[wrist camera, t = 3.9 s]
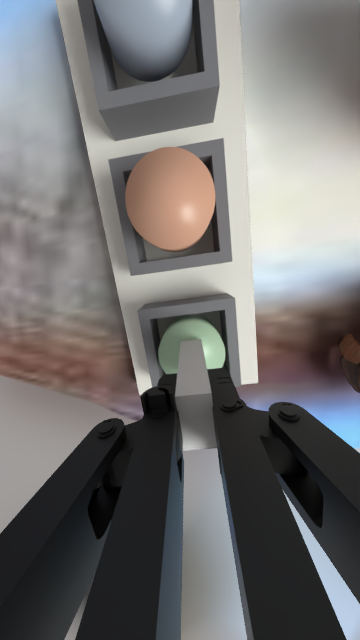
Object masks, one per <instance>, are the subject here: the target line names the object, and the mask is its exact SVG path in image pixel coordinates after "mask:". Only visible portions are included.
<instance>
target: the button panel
mask: <svg viewBox="0 0 360 640" xmlns="http://www.w3.org/2000/svg"><path fill="white" fill-rule="evenodd" d="M56 4H57V9H58V14H59V19H60V23H61V28H62V33H63V37H64V42H65V47H66V51H67V56H68V61H69V66H70V70H71V75H72V80H73V84H74V89H75V94H76V98H77V103H78V108H79V113H80V117H81V122H82V127H83V131H84V136H85V141H86V146H87V150H88V155H89V160H90V164H91V169H92V174H93V178H94V183H95V188H96V193H97V197H98V202H99V207H100V211H101V216H102V221H103V225H104V230H105V235H106V240H107V244H108V249H109V254H110V258H111V263H112V268H113V273H114V277H115V282H116V287H117V291H118V296H119V301H120V305H121V310H122V315H123V320H124V324H125V329H126V334H127V338H128V343H129V348H130V352H131V357H132V362H133V367H134V371H135V376H136V381H137V385H138V390H139V395H142V394H143V392H145V391H146V390H148V389H150V388H152V387H156V386H157V384H158V381H159V379H160V378H161V377H162V376H163V375H165V374H166V373H165V372H164V370H163V369H162V367H161V365H160V362H159V356H158V351H159V346H160V343H161V340H162V337H163V335H164V332H165V330H166V328H167V326H168V325H169V323H170V322H171V321H173V320H174V319H175V318H177V317H179V316H181V315H187V314H197V315H201V316H203V317H205V318H207V319H209V320H210V321H211V322H212V323H213V324H214V326H215V327H216V329H217V331H218V333H219V335H220V337H221V339H222V341H223V344H224V347H225V361H224V364H223V366H222V368H225V369H226V370H227V371H229V373H230V376H231V378H232V381H233V383H234V386H235V387H239V386H241V384H251V383H258V368H257V348H256V328H255V307H254V287H253V267H252V247H251V226H250V206H249V186H248V166H247V145H246V125H245V105H244V85H243V64H242V44H241V24H240V4H239V0H192V33H191V39H190V43H189V47H188V50H187V53H186V55H185V57H184V59H183V60H182V62H181V64H180V65H179V66H178V67H177V69H176V70H175V71H174V72H173V73H171V74H170V75H169V76H167V77H166V78H163V79H161V80H158V81H153V82H145V81H140V80H137V79H135V78H133V77H131V76H130V75H128V74H127V73H126V72H125V71H124V70H123V69H122V68H121V67H120V66H119V64H118V63H117V61H116V60H115V58H114V56H113V54H112V52H111V49H110V46H109V43H108V41H107V38H106V35H105V32H104V29H103V26H102V23H101V21H100V18H99V15H98V12H97V9H96V6H95V3H94V0H56ZM163 147H178V148H182V149H185V150H187V151H189V152H191V153H193V154H194V155H196V156H197V157H198V158H199V159H200V160H201V161H202V162H203V163H204V164H205V166H206V167H207V169H208V171H209V172H210V174H211V177H212V179H213V183H214V187H215V207H214V212H213V215H212V218H211V220H210V223H209V225H208V227H207V229H206V231H205V233H204V235H203V236H202V238H201V239H200V240H199V242H197V243H196V244H195V245H194V246H193V247H191V248H189V249H187V250H185V251H181V252H166V251H163V250H160V249H158V248H157V247H155V246H154V245H152V244H151V243H150V242H148V241H147V240H145V239H144V238H143V237H142V236H141V235H140V234H139V233H138V232H137V231H136V229H135V228H134V226H133V225H132V223H131V221H130V219H129V216H128V213H127V209H126V203H125V192H126V186H127V181H128V179H129V176H130V174H131V172H132V170H133V168H134V167H135V165H136V164H137V163H138V162H139V160H140V159H141V158H143V157H144V156H145V155H146V154H148V153H150V152H151V151H153V150H156V149H159V148H163Z"/></svg>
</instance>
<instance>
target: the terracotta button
mask: <svg viewBox="0 0 360 640" xmlns="http://www.w3.org/2000/svg"><path fill="white" fill-rule="evenodd" d="M125 203H126V209H127V213H128V216H129V219H130V221H131V223H132V225H133V226H134V228H135V229H136V231H137V232H138V233H139V234H140V235H141V236H142V237H143V238H144V239H145V240H147V241H148V242H150V243H151V244H152V245H154V246H155V247H157V248H158V249H160V250H163V251H166V252H181V251H185V250H187V249H189V248H191V247H193V246H194V245H195V244H196V243H197V242H199V240H200V239H201V238H202V236H203V235H204V233H205V231H206V229H207V227H208V225H209V223H210V220H211V218H212V215H213V212H214V207H215V187H214V183H213V179H212V177H211V174H210V172H209V171H208V169H207V167H206V166H205V164H204V163H203V162H202V161H201V160H200V159H199V158H198V157H197V156H196V155H194V154H193V153H191V152H189V151H187V150H185V149H182V148H178V147H163V148H159V149H156V150H153V151H151V152H150V153H148V154H146V155H145V156H144V157H143V158H141V159H140V160H139V162H138V163H137V164H136V165H135V167H134V168H133V170H132V172H131V174H130V176H129V179H128V181H127V186H126V192H125Z"/></svg>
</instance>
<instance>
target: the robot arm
mask: <svg viewBox="0 0 360 640" xmlns="http://www.w3.org/2000/svg"><path fill="white" fill-rule="evenodd" d="M140 398H141V402H142V407H143V412H144V416H143V418H142V419H141V420H139V421H137V422H134V423H131V424H128V425H125V426H124V422H123V421H122V420H121V419H118V418H113V419H108V420H105V421H103V422H101V423H99V424H98V425H96V426H95V427H94V428H93V429H92V430H91V431H90V433H89V434H88V435H87V436H86V437H85V438H84V440H82V442H81V443H80V444H79V445H78V446H77V447H76V448H75V450H74V451H73V452H72V453H71V454H70V455H69V456H68V458H67V459H66V460H65V461H64V462H63V463H62V464H61V466H60V467H59V468H58V469H57V470H56V471H55V472H54V473H53V475H52V476H51V477H50V478H49V479H48V480H47V481H46V482H45V484H44V485H43V486H42V487H41V488H40V489H39V490H38V492H37V493H36V494H35V495H34V496H33V497H32V498H31V500H30V501H29V502H28V503H27V504H26V505H25V506H24V507H23V509H22V510H21V511H20V512H19V513H18V514H17V516H16V517H15V518H14V519H13V520H12V521H11V522H10V523H9V524H8V526H7V527H6V528H5V529H4V530H3V531H2V533H1V534H0V640H64V639H65V637H66V634H67V632H68V630H69V628H70V626H71V624H72V621H73V619H74V617H75V615H76V613H77V611H78V609H79V606H80V604H81V602H82V600H83V598H84V596H85V593H86V591H87V589H88V587H89V585H90V583H91V580H92V578H93V576H94V574H95V577H94V580H93V583H92V586H91V590H90V593H89V596H88V600H87V603H86V606H85V610H84V613H83V616H82V619H81V623H80V626H79V629H78V632H77V636H76V639H75V640H181V637H180V636H181V590H182V537H183V486H184V485H183V484H184V460H183V454H182V447H183V449H184V451H186V450H198V449H210V448H218V457H219V466H220V474H221V477H222V483H223V489H224V495H225V501H226V508H227V514H228V520H229V527H230V533H231V539H232V546H233V552H234V558H235V564H236V571H237V577H238V583H239V589H240V596H241V602H242V608H243V614H244V620H245V627H246V634H247V640H346V638H345V635H344V633H343V631H342V628H341V626H340V624H339V621H338V619H337V616H336V614H335V612H334V610H333V607H332V605H331V602H330V600H329V598H328V595H327V593H326V591H325V588H324V586H323V584H322V581H321V579H320V577H319V574H318V572H317V570H316V567H315V565H314V563H313V560H312V558H311V556H310V553H309V551H308V548H307V546H306V544H305V542H304V539H303V537H302V534H301V532H300V530H299V527H298V525H297V523H296V520H295V518H294V516H293V513H292V511H291V509H290V507H289V504H288V502H287V499H286V497H285V495H284V492H285V494H286V495H287V497H288V498H289V500H290V501H291V503H292V504H293V505H294V507H295V508H296V510H297V511H298V513H299V514H300V516H301V517H302V519H303V520H304V522H305V523H306V525H307V526H308V528H309V529H310V531H311V532H312V534H313V535H314V537H315V538H316V540H317V541H318V543H319V544H320V546H321V547H322V548H323V550H324V551H325V553H326V554H327V556H328V557H329V559H330V560H331V562H332V563H333V565H334V566H335V568H336V569H337V571H338V572H339V574H340V575H341V577H342V578H343V580H344V581H345V583H346V584H347V586H348V587H349V589H350V590H351V592H352V593H353V595H354V596H355V597H356V599H357V600H358V602H359V603H360V453H359V452H357V451H356V450H355V449H354V448H352V447H351V446H350V445H349V444H347V443H346V442H345V441H344V440H342V439H341V438H340V437H339V436H337V435H336V434H335V433H334V432H332V431H331V430H330V429H329V428H327V427H326V426H325V425H324V424H322V423H321V422H320V421H319V420H317V419H316V418H315V417H314V416H312V415H311V414H310V413H309V412H307V411H306V410H305V409H303V408H302V407H300V406H298V405H296V404H293V403H288V402H278V403H275V404H272V405H271V406H270V408H269V412H268V411H260V410H255V409H252V408H249V407H247V406H246V404H245V403H244V401H243V400H241V399H240V398H239V395H238V393H237V390H236V388H235V386H234V383H233V381H232V378H231V376H230V373H229V371H227V370H226V369H225V368H215V369H207V367H206V361H205V356H204V351H203V346H202V340H201V339H195V340H186V341H181V343H180V353H179V362H178V372H177V373H174V374H165V375H163V376H162V377H161V378H160V379H159V381H158V384H157V386H156V387H152V388H150V389H148V390H146V391H145V392H143V394H142V395H141V397H140ZM282 489H283V490H282ZM283 491H284V492H283ZM95 572H96V573H95Z"/></svg>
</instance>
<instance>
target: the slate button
mask: <svg viewBox="0 0 360 640" xmlns="http://www.w3.org/2000/svg"><path fill="white" fill-rule="evenodd" d="M94 3H95V6H96V9H97V12H98V15H99V18H100V21H101V23H102V26H103V29H104V32H105V35H106V38H107V41H108V43H109V46H110V49H111V52H112V54H113V56H114V58H115V60H116V61H117V63H118V64H119V66H120V67H121V68H122V69H123V70H124V71H125V72H126V73H127V74H128V75H130V76H131V77H133V78H135V79H137V80H140V81H145V82H153V81H158V80H161V79H163V78H166V77H167V76H169V75H170V74H171V73H173V72H174V71H175V70H176V69H177V67H178V66H179V65H180V64H181V62H182V60H183V59H184V57H185V55H186V53H187V50H188V47H189V43H190V39H191V33H192V0H94Z"/></svg>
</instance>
